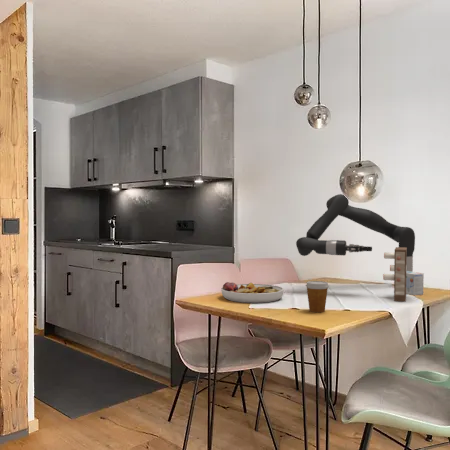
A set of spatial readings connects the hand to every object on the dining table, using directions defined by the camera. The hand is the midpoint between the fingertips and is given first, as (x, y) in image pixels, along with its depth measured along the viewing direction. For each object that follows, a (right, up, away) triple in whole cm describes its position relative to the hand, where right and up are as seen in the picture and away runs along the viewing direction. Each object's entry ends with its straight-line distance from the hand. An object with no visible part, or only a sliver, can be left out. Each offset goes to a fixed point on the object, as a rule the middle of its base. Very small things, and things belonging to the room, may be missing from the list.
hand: (371, 249), depth 238 cm
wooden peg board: (+12, -23, -6) cm, 27 cm away
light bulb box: (+23, -23, +9) cm, 34 cm away
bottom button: (+8, -15, -4) cm, 18 cm away
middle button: (+9, -10, -10) cm, 17 cm away
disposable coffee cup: (-34, -24, -35) cm, 54 cm away
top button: (+10, -5, 0) cm, 11 cm away
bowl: (-59, -24, -4) cm, 64 cm away
